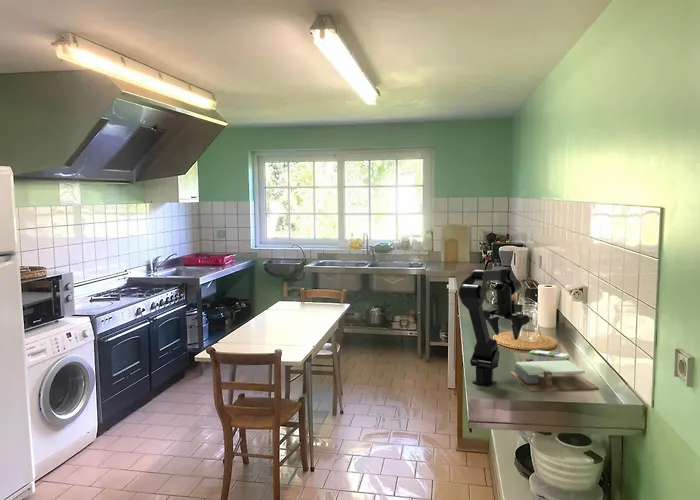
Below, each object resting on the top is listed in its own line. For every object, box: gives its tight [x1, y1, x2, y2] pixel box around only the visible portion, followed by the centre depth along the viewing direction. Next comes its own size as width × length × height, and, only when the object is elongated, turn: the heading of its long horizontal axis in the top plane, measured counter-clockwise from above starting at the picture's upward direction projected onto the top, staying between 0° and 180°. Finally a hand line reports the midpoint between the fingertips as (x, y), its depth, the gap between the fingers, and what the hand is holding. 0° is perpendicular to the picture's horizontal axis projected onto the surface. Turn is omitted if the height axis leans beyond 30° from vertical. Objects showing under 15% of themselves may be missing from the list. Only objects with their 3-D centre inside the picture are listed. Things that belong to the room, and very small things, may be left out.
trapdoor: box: [514, 360, 586, 384], centre depth 198 cm, size 20×14×4 cm
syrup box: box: [527, 349, 571, 362], centre depth 215 cm, size 6×6×14 cm
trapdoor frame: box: [509, 357, 600, 393], centre depth 198 cm, size 24×22×6 cm
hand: (506, 337), depth 212 cm, fingers open, 9 cm apart
